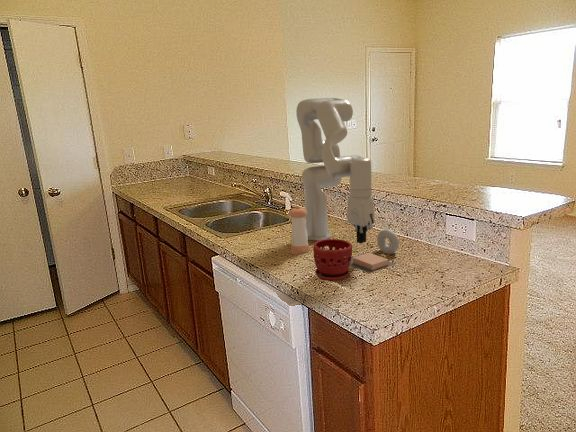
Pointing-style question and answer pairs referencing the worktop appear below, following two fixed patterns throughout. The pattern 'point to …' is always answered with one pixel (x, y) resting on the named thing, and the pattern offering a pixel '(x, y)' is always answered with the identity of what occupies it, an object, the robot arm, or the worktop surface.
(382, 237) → the donut
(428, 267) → the worktop surface
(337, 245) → the plant pot
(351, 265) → the mat
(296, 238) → the pepper shaker
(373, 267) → the tile
